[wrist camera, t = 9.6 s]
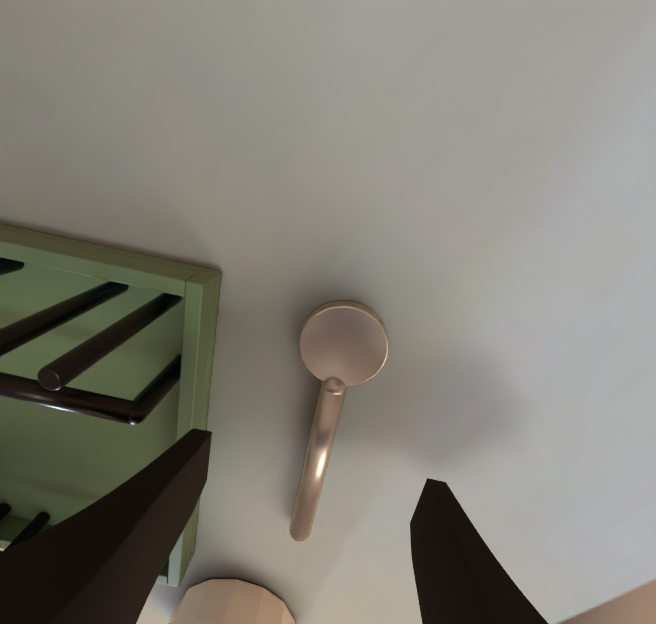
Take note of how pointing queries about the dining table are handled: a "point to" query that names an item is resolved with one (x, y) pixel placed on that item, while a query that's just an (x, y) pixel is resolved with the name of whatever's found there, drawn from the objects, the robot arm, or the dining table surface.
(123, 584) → the robot arm
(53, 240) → the drip tray
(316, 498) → the round metal paddle
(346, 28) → the dining table surface
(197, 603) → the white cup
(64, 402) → the dish rack
